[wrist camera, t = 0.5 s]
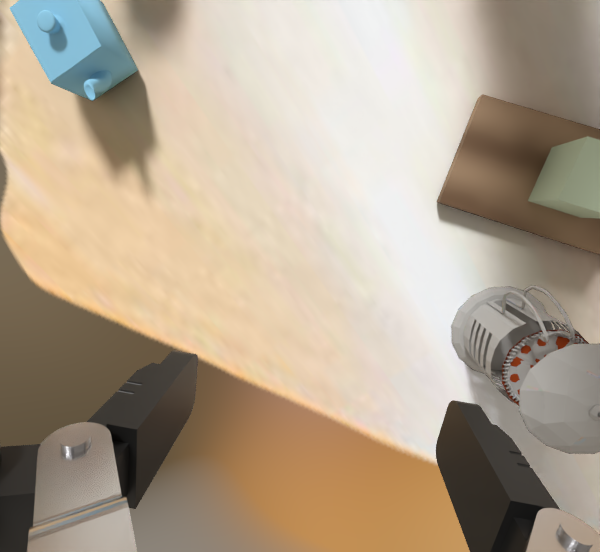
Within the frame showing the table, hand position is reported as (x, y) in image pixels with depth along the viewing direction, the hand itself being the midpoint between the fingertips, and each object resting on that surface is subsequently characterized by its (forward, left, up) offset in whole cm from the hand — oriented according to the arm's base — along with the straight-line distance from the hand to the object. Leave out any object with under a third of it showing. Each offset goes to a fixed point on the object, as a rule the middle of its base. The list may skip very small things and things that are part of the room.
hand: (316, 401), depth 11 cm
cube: (-14, +17, -26) cm, 35 cm away
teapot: (-12, -30, -28) cm, 43 cm away
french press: (0, +18, -28) cm, 33 cm away
